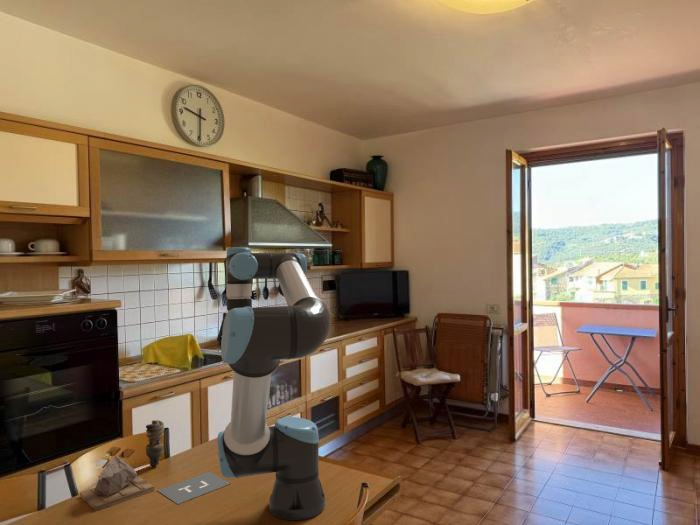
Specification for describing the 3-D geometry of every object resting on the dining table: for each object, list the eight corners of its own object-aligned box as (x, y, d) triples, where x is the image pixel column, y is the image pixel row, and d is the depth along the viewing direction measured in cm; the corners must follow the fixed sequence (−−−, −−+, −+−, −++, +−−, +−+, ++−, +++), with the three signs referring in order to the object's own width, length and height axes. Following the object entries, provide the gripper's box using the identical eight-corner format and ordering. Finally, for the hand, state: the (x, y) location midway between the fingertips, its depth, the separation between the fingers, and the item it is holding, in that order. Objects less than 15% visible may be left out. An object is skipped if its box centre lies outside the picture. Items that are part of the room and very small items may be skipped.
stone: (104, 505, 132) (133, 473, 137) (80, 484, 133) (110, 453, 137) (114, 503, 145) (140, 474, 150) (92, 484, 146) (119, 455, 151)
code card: (230, 483, 147) (230, 483, 147) (177, 504, 135) (177, 504, 135) (209, 472, 156) (209, 471, 156) (157, 490, 143) (157, 490, 143)
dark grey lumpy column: (157, 461, 164) (156, 417, 164) (168, 465, 161) (167, 419, 161) (142, 468, 159) (142, 421, 159) (153, 471, 156) (153, 424, 156)
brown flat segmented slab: (154, 490, 143) (154, 485, 143) (96, 511, 132) (96, 505, 132) (136, 478, 152) (136, 473, 152) (80, 496, 140) (80, 491, 140)
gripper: (275, 298, 145) (276, 370, 145) (225, 295, 161) (226, 360, 161) (255, 300, 139) (255, 375, 139) (205, 297, 156) (206, 364, 156)
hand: (239, 367), depth 150 cm, fingers open, 13 cm apart
